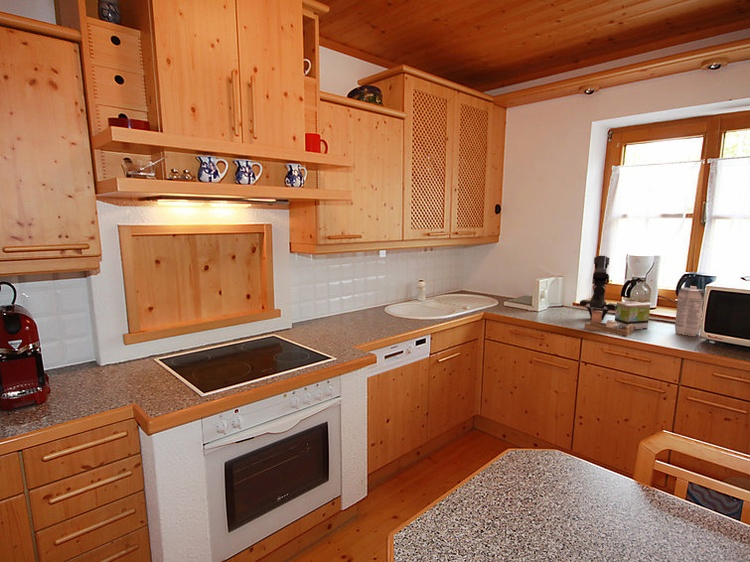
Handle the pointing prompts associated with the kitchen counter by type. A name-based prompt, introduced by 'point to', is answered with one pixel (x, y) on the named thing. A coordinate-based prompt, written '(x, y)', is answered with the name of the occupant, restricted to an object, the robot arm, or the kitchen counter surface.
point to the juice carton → (689, 311)
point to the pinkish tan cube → (597, 316)
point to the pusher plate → (619, 326)
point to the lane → (602, 327)
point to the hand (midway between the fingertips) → (596, 319)
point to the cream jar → (611, 323)
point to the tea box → (632, 314)
